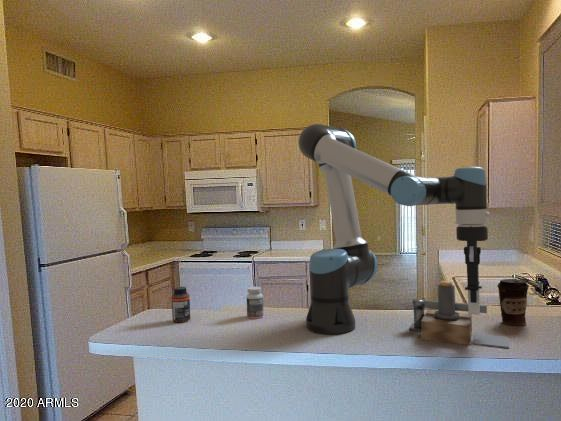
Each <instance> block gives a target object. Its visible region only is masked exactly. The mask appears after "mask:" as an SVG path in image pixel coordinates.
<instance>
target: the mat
mask: <svg viewBox="0 0 561 421" xmlns="http://www.w3.org/2000/svg"><path fill="white" fill-rule="evenodd" d="M473 344H474V345H477V346H486V347H493V348H494V347H495V348H503V349H510V342H509V337H508V336H501V335H500V336H499V335H491V334H483V333H475V335H474V342H473Z"/></svg>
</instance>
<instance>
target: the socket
mask: <svg viewBox="0 0 561 421" xmlns="http://www.w3.org/2000/svg"><path fill="white" fill-rule="evenodd" d="M435 311H436V310H429V309H427V310H426V312H424V317H423V319H422V320H421V331H420V332H421V335H420V336H421V340H427V341H435V342H443V343H450V344H458V345H466V346H467V345H468V346H470V345H471V339H472V332H473V326H472V325H473V323H472V321H473V320H472V315H473V314H468V313H463V312H458V313H459V319H456V320H455V321H450V320H440V319H439V318H436V317H435Z"/></svg>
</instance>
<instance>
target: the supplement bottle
mask: <svg viewBox="0 0 561 421" xmlns="http://www.w3.org/2000/svg"><path fill="white" fill-rule="evenodd" d="M173 292H174V293H173V294H172V295H171V313H172V314H171V315H172V316H171V317H172V322H173V323H175V322H184V323H186V322H185V321H187V322H189V321H190V320H191V300H190V293H189V292H188V291H187V287H186V286H176V287H174V288H173ZM188 320H189V321H188Z"/></svg>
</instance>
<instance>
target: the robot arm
mask: <svg viewBox="0 0 561 421" xmlns="http://www.w3.org/2000/svg"><path fill="white" fill-rule="evenodd" d="M298 148H299V151H300V153H301V154H302V155H303V156H304V157H305V158H307V159H309V160H311V161H313V162H315V163H317V164H318V167H319V170H320V171H322V172H323V173H324V177H325V183H326V189H327V193H328V194H327V196H328V199H329V206H330V212H331V218H332V219H331V220H332V224H333V228H334V229H333V230H334V235H335V241H336V242H335V244H334V245H333V247H332V248H326V249H321V250H318V251H315V252H313V253H312V254H311V255H310V257H309V266H308V270H309V287H310V304H309V307H308V311H307V314H306V318H305V328H306V329H307V330H309V331H311V332H313V333H317V334H323V335H339V334H346V333H349V332H351V331H354V330H355V329H356V319H355V316H354V313H353V309H352V306H351V304H350V302H349V301H350V299H349V297H350V296H349V294H350V292H349V289H350V288H353V287H356V286H359V285H360V286H362V285H364V284H367V282H370V281H371V280H372V279H374V277H375V276H376V274H377V272H378V269H379V268H378V267H379V266H378V259H377V257H376V256H377V255H375V253H373V251H372V250H370V249H369V244H368V241H367V240H366V239H365V238H363V237H362V236H363V235H362V230H361V226H360V220H359V214H358V209H357V203H356V198H355V190H354V185H353V179H352V178H355V179H357V180H359V181H361V182H363V183H365V184H367V185H368V186H371V188H372V187H373V188H375V189H376V190H378V191H381V192H382V193H384V194H386V195H389V196H391V197H392V199H393V200H394V202H395V203H397V204H399V205H401V206H405V207H414V206H431V205H447V204H448V205H449V204H451V205H453V204H455V223H456V225H458V226H457V227H456V240H457V241H461V242H466V246H464V247H463V254H464V264H465V265H466V276H467V277H466V278H467V279H466V280H467V281H466V282H467V285H466V286H465V287H464V290H465V291H467V303H468V313H467V314H472V315H476V316H480V315H481V313H480V305H481V304H480V302H481V301H480V289H481V290H482V288H483V287H482V285H480V281H479V278H480V277H479V274H480V273H479V272H480V271H479V265H480V264H481V263H480V262H481V253H482V250H481V248H482V247H481V246H478V242H484V241H488V238H489V234H488V233H489V232H488V227H487V226H486V224H488V218H487V217H490V215H491V213H490V212H488V210H487V209H488V206H487V196H488V195H487V194H488V192H487V185H488V183H487V179H486V176H487V175H486V170H485V169H484V168H483V167H482V166H481V167H480V166H469V167H459V168H456V169H455V170H454V174H453V175H452V176H443V177H442V176H441V177H439V176H438V177H426V176H417V175H415V174H413V173H410V172H408V171H405V170H403V169H401V168H399V167H397V166H394V165H392V164H390V163H388V162H386V161H383V160H381V159H379V158H377V157H374V156H373V155H370V154H368V153H366V152H363V151H361V150H359V149H357V142H356V139H355V136H354V135H353V134H352V133H351V132H350V131H349V130H346V129H345V128H342V127H339V126H330V125H326V124H321V123H313V124H310V125H308V126H306V127H305V128H304V129H303V130H302V131H301V133H300V135H299V136H298Z"/></svg>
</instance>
